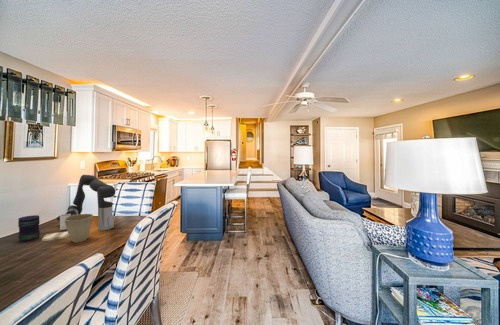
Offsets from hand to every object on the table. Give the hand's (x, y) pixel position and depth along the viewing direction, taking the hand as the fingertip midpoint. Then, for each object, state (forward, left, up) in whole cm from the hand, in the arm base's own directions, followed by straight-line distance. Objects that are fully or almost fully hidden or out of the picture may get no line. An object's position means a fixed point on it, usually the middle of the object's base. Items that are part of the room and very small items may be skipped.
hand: (67, 219), depth 163 cm
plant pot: (-27, +24, -7) cm, 37 cm away
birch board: (-9, +18, -7) cm, 21 cm away
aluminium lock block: (-4, +7, -7) cm, 10 cm away
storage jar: (+6, +23, -7) cm, 25 cm away
